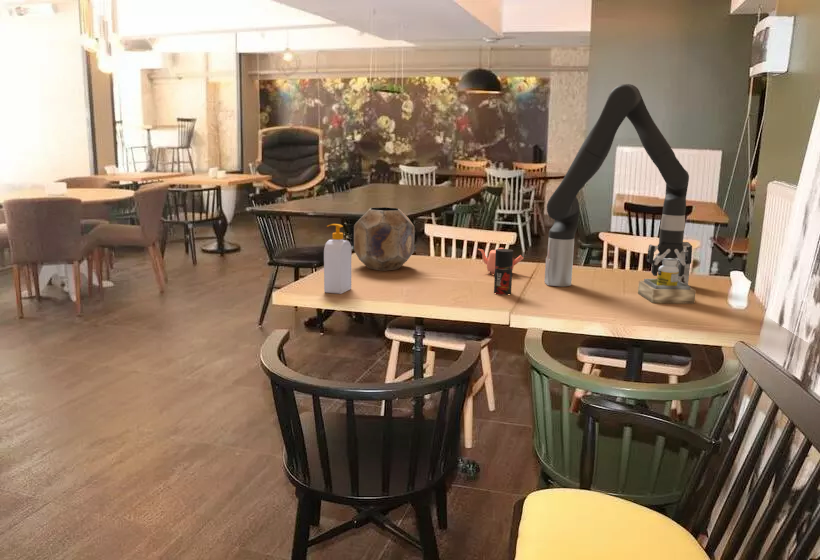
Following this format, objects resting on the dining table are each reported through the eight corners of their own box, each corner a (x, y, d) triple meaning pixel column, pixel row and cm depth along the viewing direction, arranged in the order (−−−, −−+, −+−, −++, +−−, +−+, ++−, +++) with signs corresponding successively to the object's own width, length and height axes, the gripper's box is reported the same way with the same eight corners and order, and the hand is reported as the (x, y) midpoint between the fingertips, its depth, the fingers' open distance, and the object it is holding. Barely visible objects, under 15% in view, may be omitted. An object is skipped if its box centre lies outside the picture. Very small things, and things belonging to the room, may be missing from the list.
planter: (413, 273, 265) (414, 212, 260) (351, 272, 265) (351, 211, 260) (413, 263, 286) (415, 206, 282) (356, 261, 287) (356, 205, 282)
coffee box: (665, 283, 256) (670, 241, 253) (683, 284, 255) (688, 241, 252) (669, 288, 247) (674, 244, 244) (688, 289, 246) (693, 245, 243)
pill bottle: (652, 290, 234) (656, 257, 232) (671, 290, 235) (674, 257, 232) (660, 295, 228) (664, 261, 225) (679, 295, 228) (683, 261, 226)
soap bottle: (333, 287, 239) (333, 222, 234) (351, 288, 237) (351, 223, 232) (322, 292, 230) (321, 225, 226) (340, 294, 228) (340, 226, 223)
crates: (652, 302, 224) (653, 286, 223) (637, 293, 238) (639, 277, 237) (694, 303, 225) (696, 287, 224) (677, 293, 238) (679, 278, 237)
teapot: (506, 269, 277) (507, 244, 275) (523, 274, 267) (525, 249, 265) (476, 272, 271) (477, 246, 268) (493, 277, 260) (494, 251, 258)
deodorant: (512, 292, 236) (514, 249, 233) (509, 295, 231) (511, 252, 228) (495, 290, 238) (497, 248, 235) (492, 294, 233) (494, 251, 229)
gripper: (655, 229, 223) (650, 277, 226) (698, 230, 223) (692, 278, 226) (647, 226, 230) (642, 273, 233) (688, 227, 230) (683, 274, 234)
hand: (667, 275), depth 230 cm, fingers open, 8 cm apart
